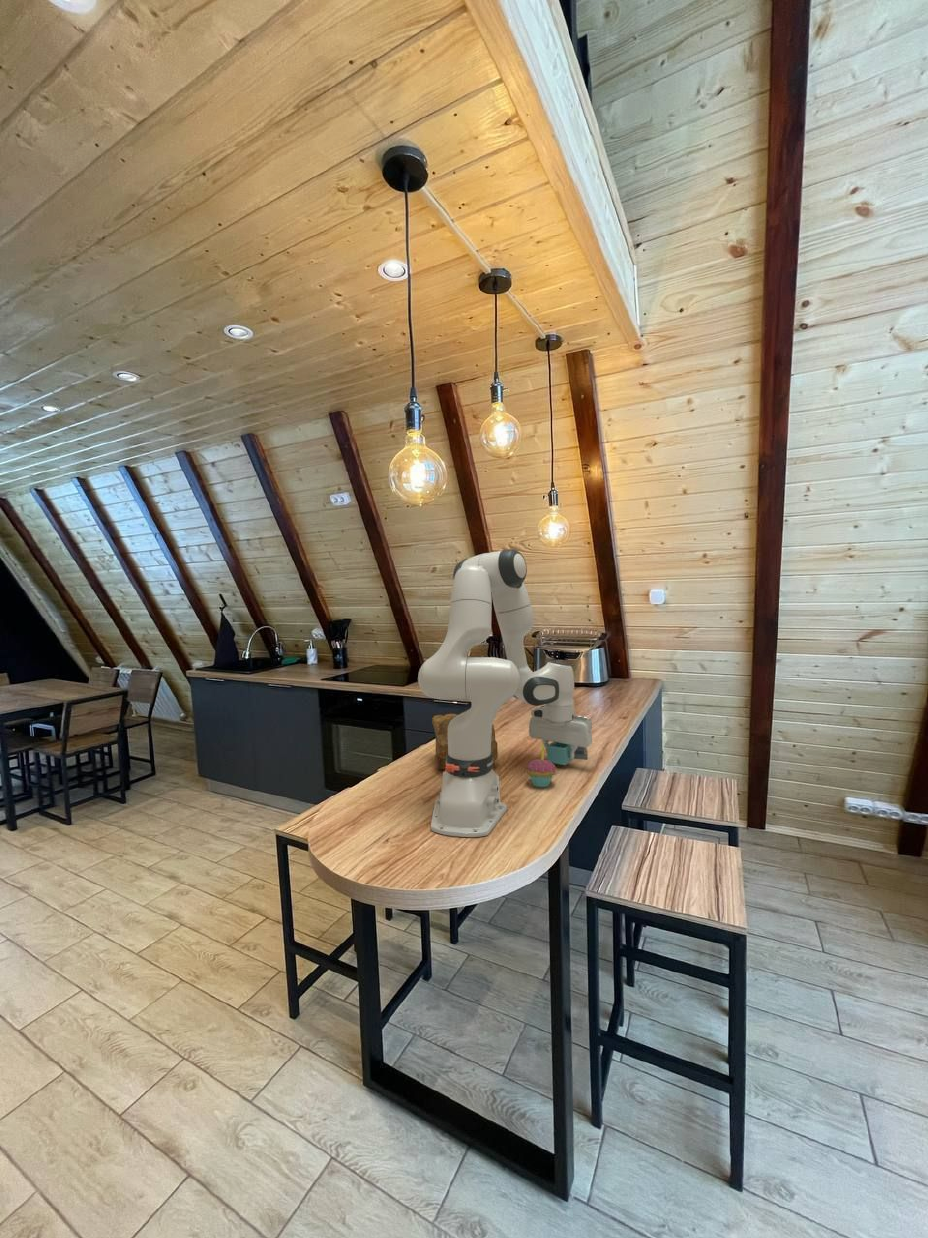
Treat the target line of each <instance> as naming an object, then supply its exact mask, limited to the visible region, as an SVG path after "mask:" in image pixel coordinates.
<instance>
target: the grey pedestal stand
mask: <svg viewBox="0 0 928 1238" xmlns="http://www.w3.org/2000/svg"><path fill="white" fill-rule="evenodd" d="M587 749H588V747H586V748H585V747H580V746H578V748H577V749H576V751H575V752H574V758H573V759H578V760H588V750H587Z"/></svg>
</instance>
